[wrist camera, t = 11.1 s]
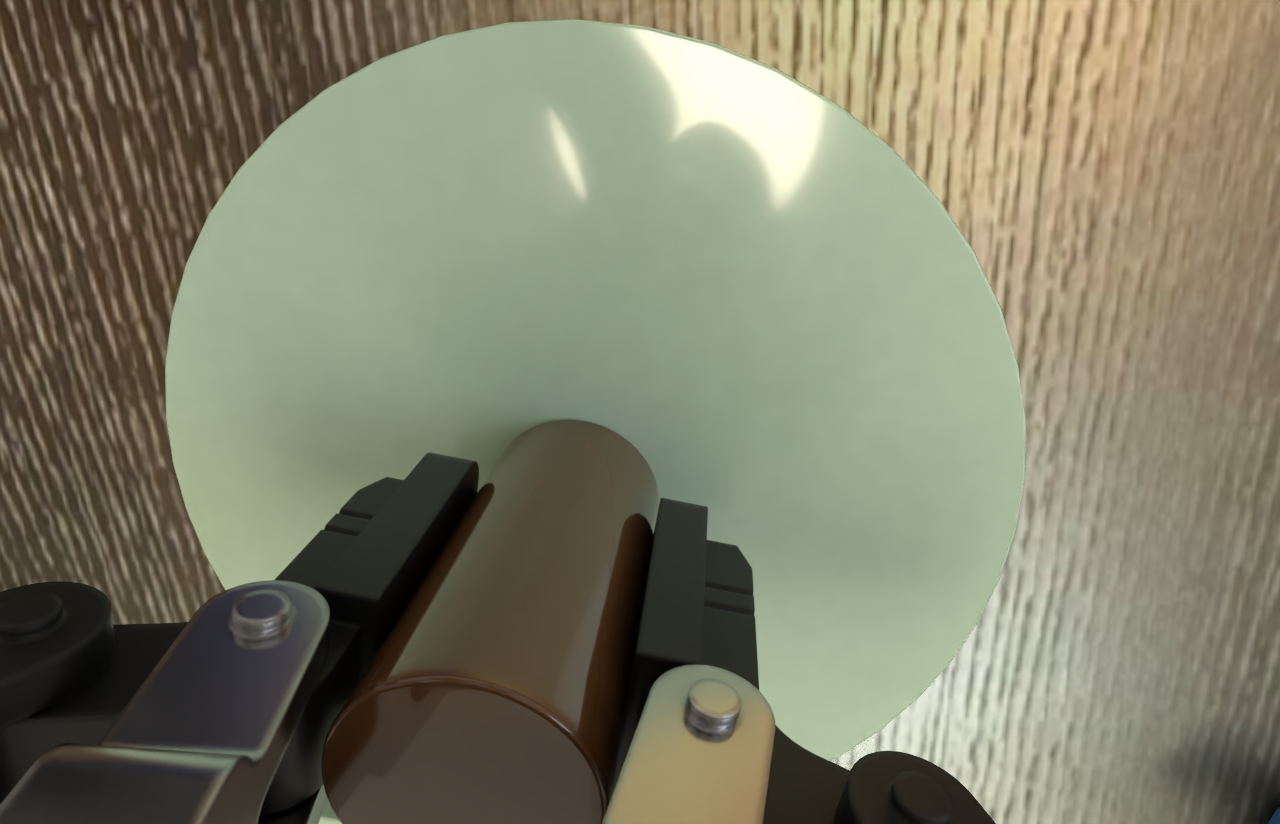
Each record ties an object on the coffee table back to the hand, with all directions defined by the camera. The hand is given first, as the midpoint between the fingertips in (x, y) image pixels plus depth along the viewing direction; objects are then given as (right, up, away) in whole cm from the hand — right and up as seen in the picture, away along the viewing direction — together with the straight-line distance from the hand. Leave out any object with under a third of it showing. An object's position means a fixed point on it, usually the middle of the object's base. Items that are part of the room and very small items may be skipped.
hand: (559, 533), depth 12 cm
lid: (0, +1, +2) cm, 2 cm away
